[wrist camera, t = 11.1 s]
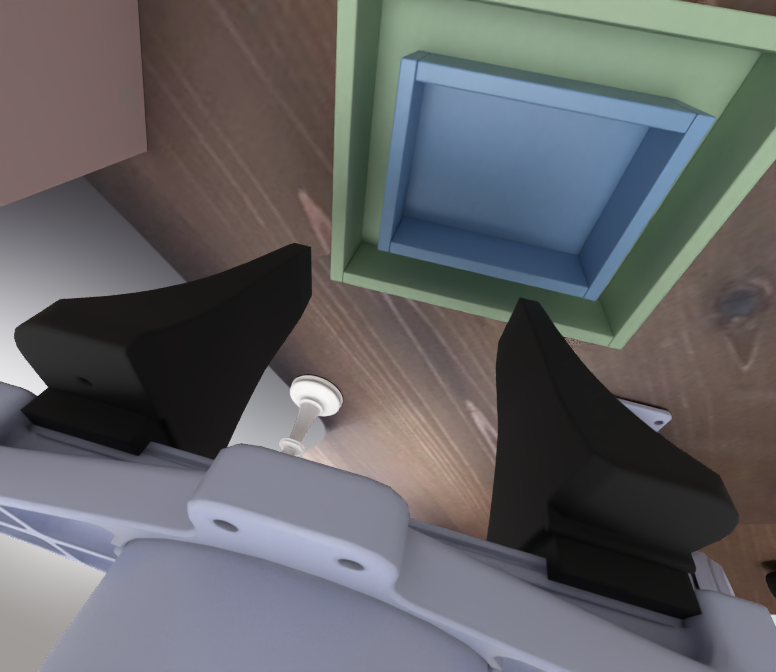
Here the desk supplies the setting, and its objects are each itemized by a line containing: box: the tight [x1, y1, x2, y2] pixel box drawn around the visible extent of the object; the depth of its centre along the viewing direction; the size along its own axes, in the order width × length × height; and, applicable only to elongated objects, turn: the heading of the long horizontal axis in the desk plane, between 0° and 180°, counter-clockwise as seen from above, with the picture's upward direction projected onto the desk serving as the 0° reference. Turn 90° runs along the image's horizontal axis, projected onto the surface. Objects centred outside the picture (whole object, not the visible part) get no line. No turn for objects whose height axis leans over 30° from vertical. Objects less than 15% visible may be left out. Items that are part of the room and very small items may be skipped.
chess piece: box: [279, 375, 343, 456], centre depth 30 cm, size 5×5×10 cm
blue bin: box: [377, 50, 716, 301], centre depth 16 cm, size 10×8×4 cm
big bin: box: [331, 0, 776, 350], centre depth 16 cm, size 15×12×4 cm
